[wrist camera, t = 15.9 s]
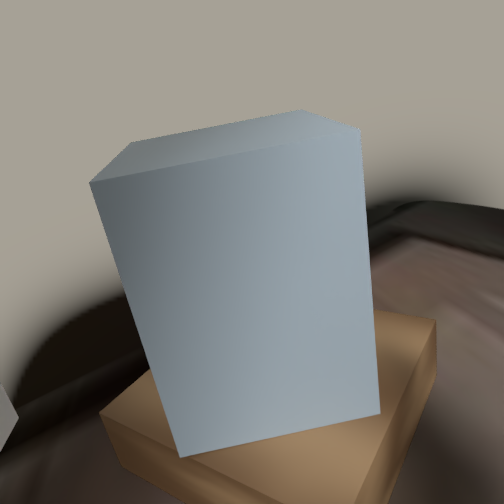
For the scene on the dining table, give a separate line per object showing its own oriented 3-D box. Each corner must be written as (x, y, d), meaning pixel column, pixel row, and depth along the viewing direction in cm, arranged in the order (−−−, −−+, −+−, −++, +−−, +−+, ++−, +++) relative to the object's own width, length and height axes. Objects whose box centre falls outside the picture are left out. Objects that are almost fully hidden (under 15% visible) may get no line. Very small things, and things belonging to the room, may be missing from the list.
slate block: (186, 340, 24) (130, 142, 20) (326, 311, 24) (301, 109, 20) (180, 457, 17) (88, 182, 12) (380, 413, 17) (360, 129, 13)
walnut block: (254, 337, 30) (244, 287, 29) (436, 381, 23) (435, 319, 22) (124, 473, 21) (98, 412, 20) (352, 607, 15) (341, 532, 13)
